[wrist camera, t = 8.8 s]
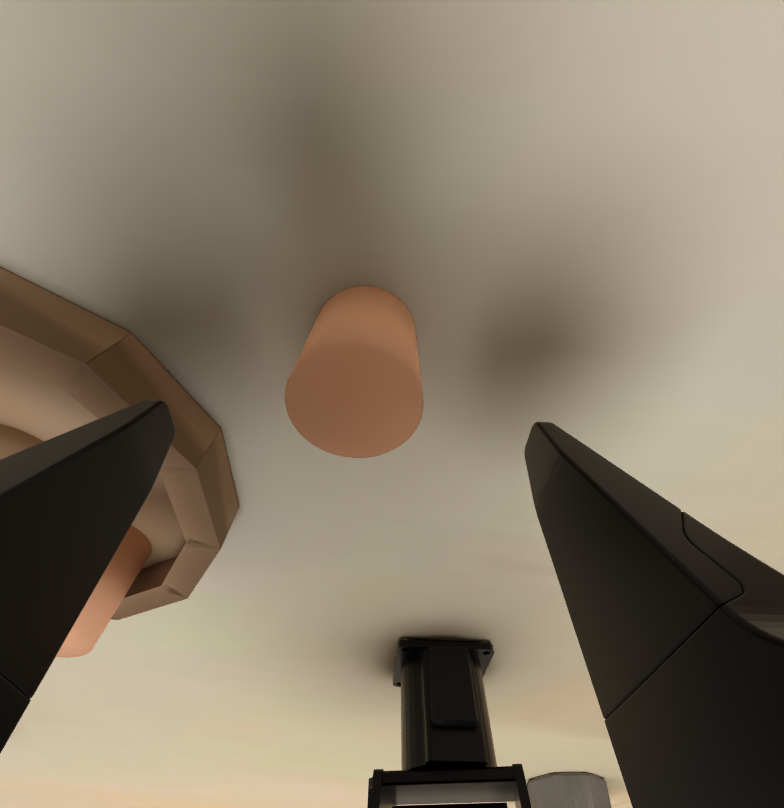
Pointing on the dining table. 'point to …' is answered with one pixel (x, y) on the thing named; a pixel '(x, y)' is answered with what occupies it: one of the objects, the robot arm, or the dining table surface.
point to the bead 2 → (358, 376)
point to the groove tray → (103, 395)
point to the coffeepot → (568, 791)
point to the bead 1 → (107, 594)
